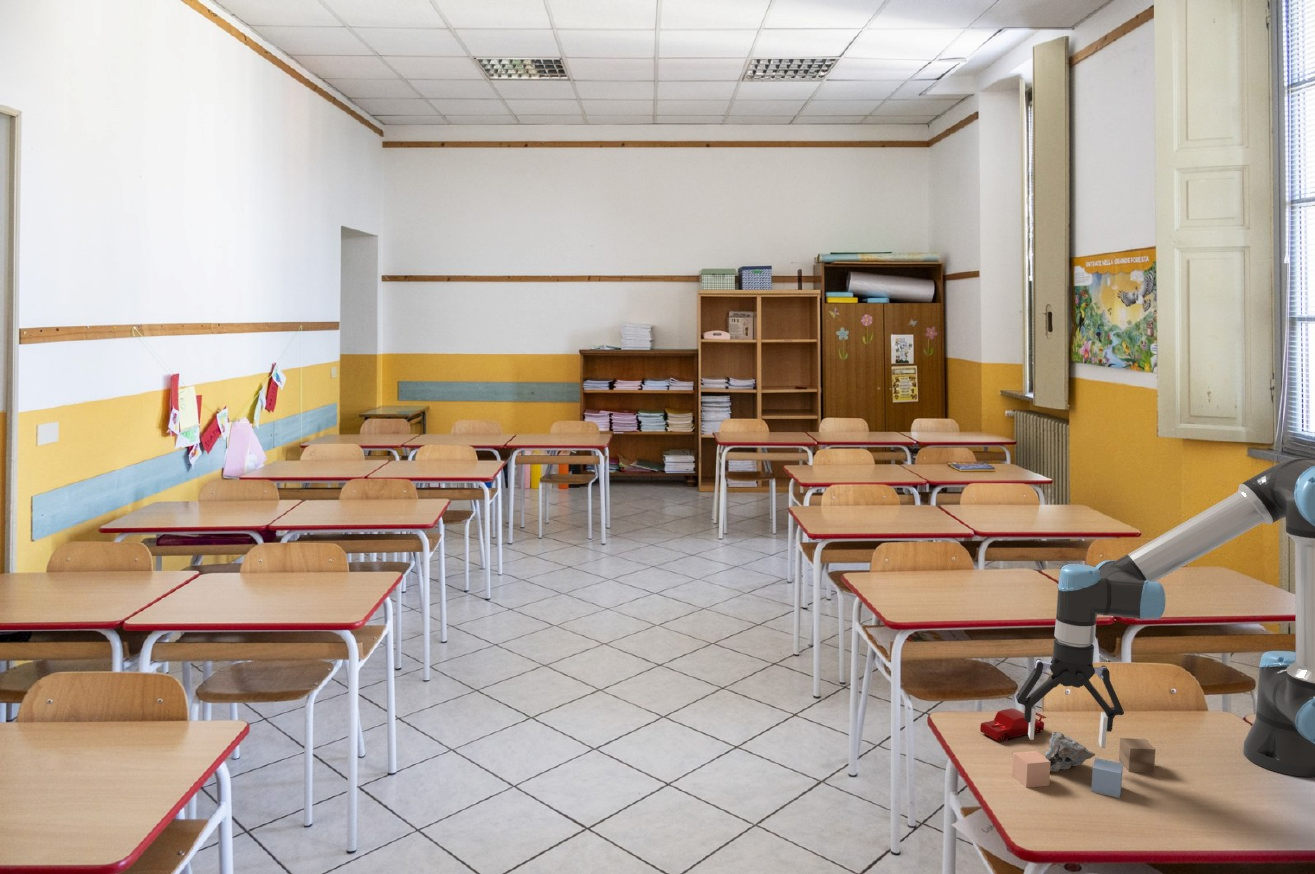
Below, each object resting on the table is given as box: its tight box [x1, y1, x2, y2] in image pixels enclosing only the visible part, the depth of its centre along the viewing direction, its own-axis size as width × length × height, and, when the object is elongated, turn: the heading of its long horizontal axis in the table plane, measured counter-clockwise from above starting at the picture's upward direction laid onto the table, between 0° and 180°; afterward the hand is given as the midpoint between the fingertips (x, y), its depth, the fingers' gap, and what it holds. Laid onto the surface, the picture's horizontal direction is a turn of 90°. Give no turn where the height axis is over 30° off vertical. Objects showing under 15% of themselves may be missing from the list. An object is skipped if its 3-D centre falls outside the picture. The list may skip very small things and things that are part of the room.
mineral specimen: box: [1043, 731, 1096, 773], centre depth 199 cm, size 10×8×10 cm
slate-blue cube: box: [1090, 757, 1124, 799], centre depth 189 cm, size 5×5×5 cm
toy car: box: [979, 707, 1047, 743], centre depth 215 cm, size 14×6×5 cm, turn 114°
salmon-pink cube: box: [1011, 750, 1051, 788], centre depth 193 cm, size 5×5×5 cm
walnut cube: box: [1118, 737, 1156, 773], centre depth 200 cm, size 5×5×5 cm
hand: (1066, 741), depth 199 cm, fingers open, 13 cm apart
